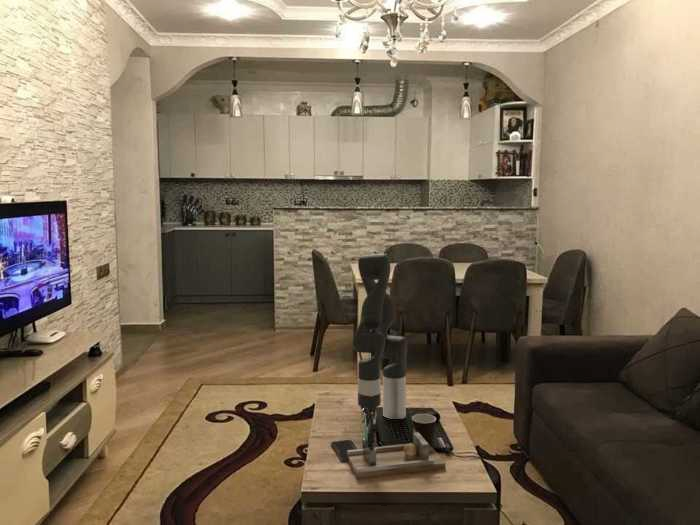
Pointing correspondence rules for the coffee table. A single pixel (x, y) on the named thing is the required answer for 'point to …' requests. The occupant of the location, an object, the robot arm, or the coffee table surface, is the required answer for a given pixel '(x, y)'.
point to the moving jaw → (369, 450)
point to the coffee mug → (424, 426)
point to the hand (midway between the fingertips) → (369, 440)
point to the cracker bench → (396, 460)
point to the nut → (410, 450)
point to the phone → (343, 449)
